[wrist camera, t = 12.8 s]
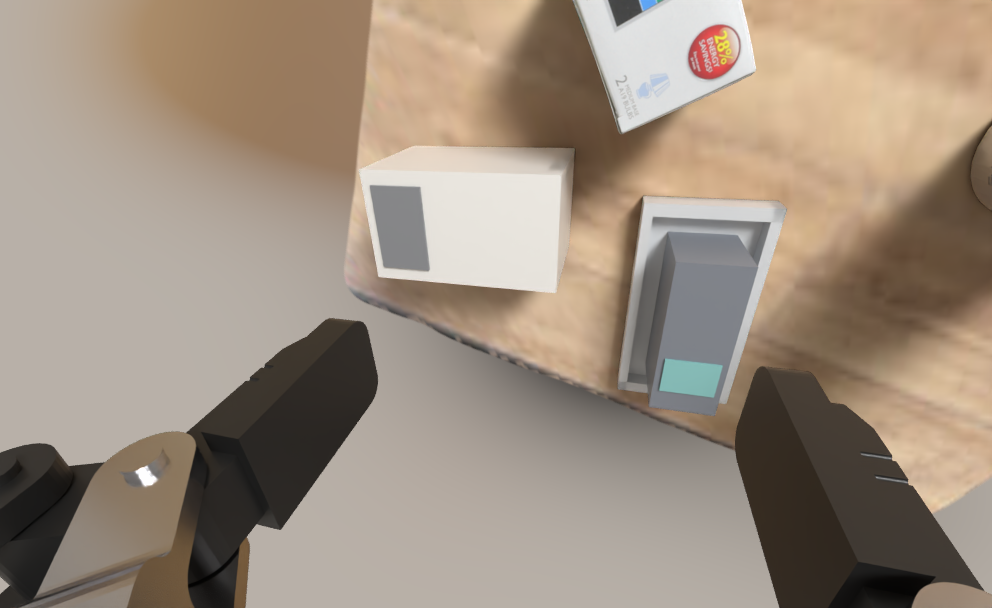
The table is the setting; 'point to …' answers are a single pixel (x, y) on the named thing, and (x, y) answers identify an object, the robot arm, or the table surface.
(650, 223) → the tray
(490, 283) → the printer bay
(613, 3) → the light bulb box
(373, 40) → the table surface
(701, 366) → the slab with teal patch
